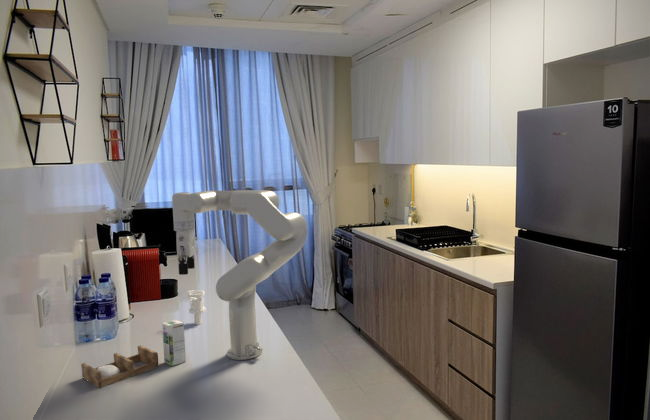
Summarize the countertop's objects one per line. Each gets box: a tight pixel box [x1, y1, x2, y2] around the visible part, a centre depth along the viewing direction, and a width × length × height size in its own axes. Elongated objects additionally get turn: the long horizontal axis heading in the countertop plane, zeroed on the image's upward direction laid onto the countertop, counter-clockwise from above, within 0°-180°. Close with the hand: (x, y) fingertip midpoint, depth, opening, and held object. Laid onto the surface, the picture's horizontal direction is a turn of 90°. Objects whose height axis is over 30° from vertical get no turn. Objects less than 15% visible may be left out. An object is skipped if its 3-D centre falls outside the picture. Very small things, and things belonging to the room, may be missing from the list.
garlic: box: [97, 364, 121, 380], centre depth 172 cm, size 8×7×4 cm
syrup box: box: [161, 319, 187, 367], centre depth 182 cm, size 6×6×14 cm
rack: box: [81, 345, 160, 389], centre depth 175 cm, size 12×21×5 cm, turn 138°
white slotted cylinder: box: [187, 289, 207, 326], centre depth 224 cm, size 7×7×15 cm
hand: (187, 271), depth 191 cm, fingers open, 9 cm apart
